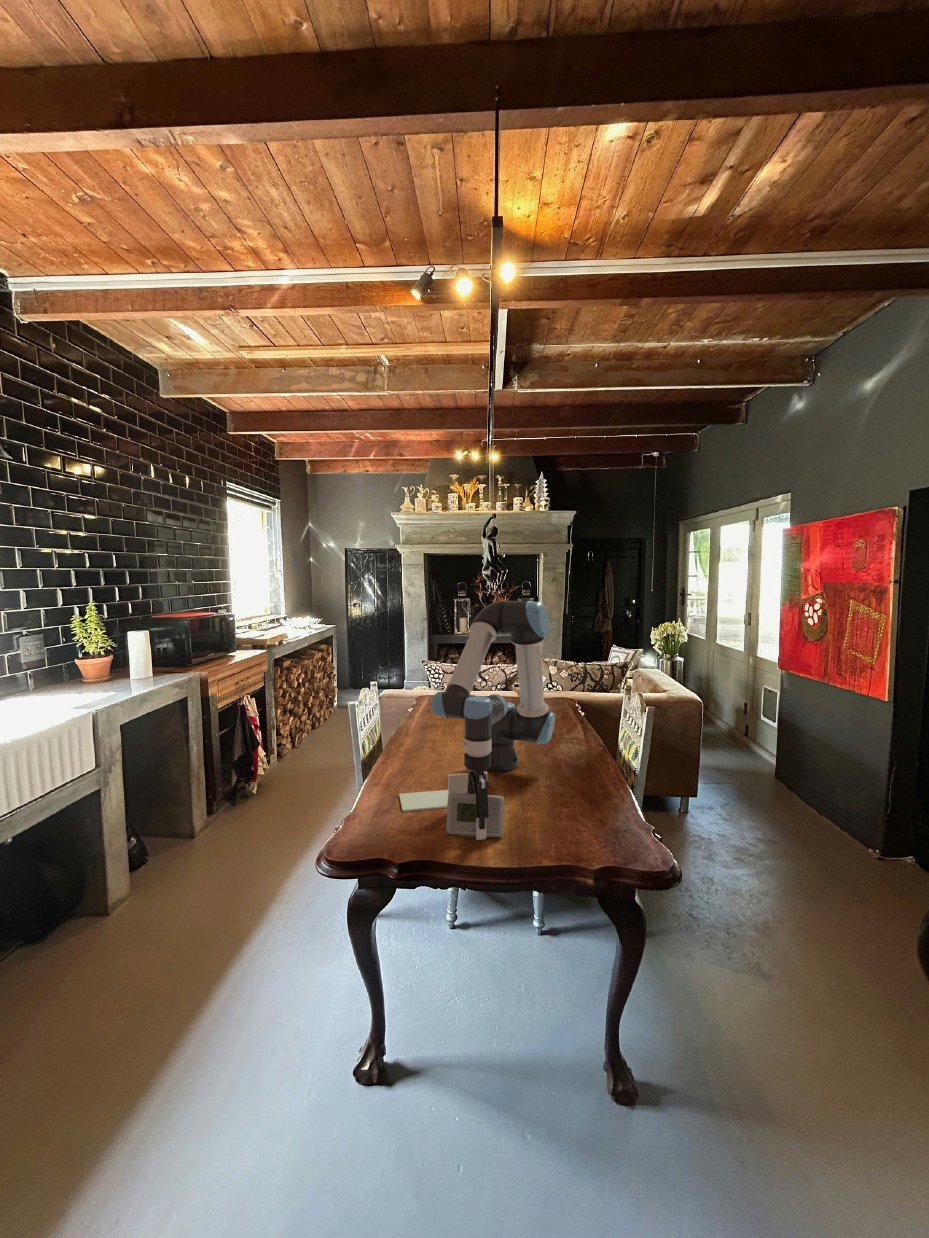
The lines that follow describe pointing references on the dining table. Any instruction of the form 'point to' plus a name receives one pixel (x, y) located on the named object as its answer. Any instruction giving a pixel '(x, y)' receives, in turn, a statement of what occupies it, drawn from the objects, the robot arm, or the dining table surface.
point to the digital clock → (473, 815)
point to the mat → (424, 800)
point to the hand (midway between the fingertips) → (477, 830)
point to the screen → (458, 783)
